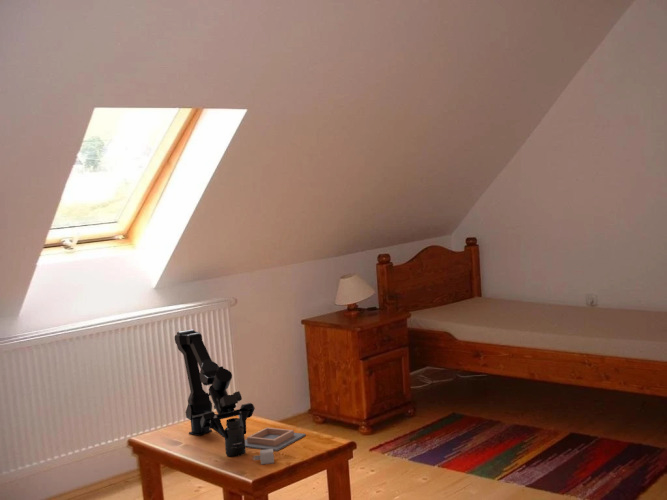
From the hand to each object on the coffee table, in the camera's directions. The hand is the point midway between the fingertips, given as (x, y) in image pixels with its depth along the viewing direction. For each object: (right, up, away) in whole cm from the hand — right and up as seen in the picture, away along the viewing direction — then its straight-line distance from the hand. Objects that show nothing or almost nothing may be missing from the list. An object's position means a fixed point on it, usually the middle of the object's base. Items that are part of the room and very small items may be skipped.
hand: (236, 435), depth 272 cm
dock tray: (+11, -5, +13) cm, 18 cm away
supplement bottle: (0, -7, +2) cm, 7 cm away
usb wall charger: (+10, -7, -10) cm, 16 cm away
